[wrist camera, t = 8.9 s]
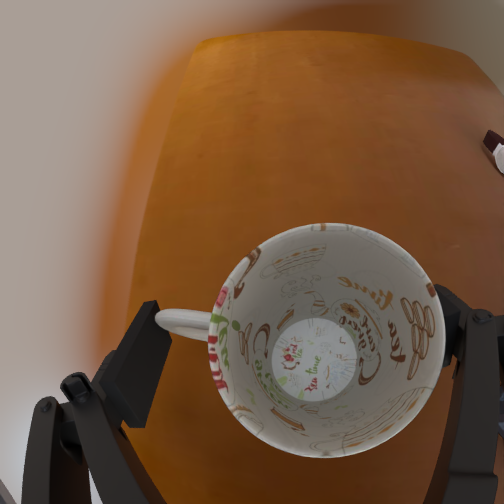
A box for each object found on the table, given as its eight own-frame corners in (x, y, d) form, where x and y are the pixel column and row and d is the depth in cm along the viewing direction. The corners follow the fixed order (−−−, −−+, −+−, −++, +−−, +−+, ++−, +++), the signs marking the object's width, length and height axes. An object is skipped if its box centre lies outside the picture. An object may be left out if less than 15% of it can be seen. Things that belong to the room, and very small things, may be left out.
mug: (369, 424, 15) (435, 453, 7) (180, 401, 18) (88, 403, 9) (379, 302, 19) (438, 231, 10) (201, 287, 21) (137, 212, 12)
